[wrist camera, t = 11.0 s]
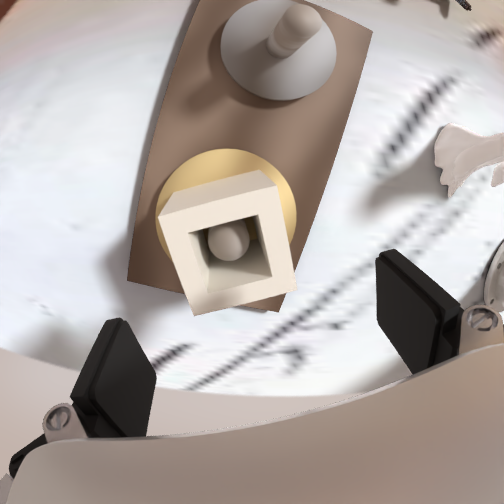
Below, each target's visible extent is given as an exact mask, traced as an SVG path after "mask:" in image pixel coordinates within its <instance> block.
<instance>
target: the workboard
mask: <svg viewBox="0 0 504 504" xmlns="http://www.w3.org/2000/svg"><path fill="white" fill-rule="evenodd" d="M372 33H373V31H371V30H369V29H367V28H366V27H364V26H362V25H360V24H358V23H356V22H354V21H351V20H349V19H347V18H345V17H343V16H341V15H339V14H336V13H334V12H332V11H329V10H327V9H325V8H322V7H320V6H317V5H315V4H312V3H310V2H307V1H304V0H200V1H199V4H198V6H197V8H196V11H195V13H194V15H193V18H192V20H191V23H190V25H189V28H188V30H187V33H186V35H185V38H184V41H183V43H182V46H181V49H180V51H179V54H178V57H177V60H176V63H175V66H174V69H173V72H172V75H171V78H170V81H169V84H168V87H167V90H166V93H165V97H164V100H163V103H162V107H161V110H160V114H159V117H158V121H157V125H156V128H155V132H154V136H153V140H152V144H151V148H150V152H149V156H148V161H147V165H146V169H145V174H144V179H143V183H142V188H141V193H140V199H139V204H138V209H137V215H136V221H135V227H134V233H133V239H132V246H131V253H130V261H129V268H128V277H127V281H131V282H135V283H139V284H143V285H148V286H152V287H156V288H160V289H165V290H169V291H174V292H178V293H183V294H185V292H184V289H183V287H182V284H181V281H180V279H179V276H178V273H177V271H176V268H175V265H174V262H173V260H172V257H171V254H170V251H169V248H168V246H167V243H166V240H165V237H164V234H163V231H162V228H161V225H160V222H159V219H158V216H159V214H160V213H161V211H162V209H163V208H164V206H165V205H166V203H167V202H168V200H169V198H170V197H171V195H172V194H173V192H177V191H180V190H183V189H187V188H190V187H194V186H198V185H201V184H205V183H209V182H212V181H216V180H220V179H224V178H228V177H231V176H235V175H239V174H243V173H248V172H252V171H256V170H260V171H262V172H263V173H264V174H265V175H266V176H267V177H268V178H269V179H271V180H272V181H273V182H274V183H275V184H276V185H277V188H278V192H279V197H280V202H281V207H282V212H283V217H284V222H285V227H286V232H287V237H288V242H289V247H290V253H291V258H292V263H293V269H294V272H295V269H296V267H297V264H298V261H299V259H300V256H301V253H302V251H303V248H304V245H305V243H306V240H307V237H308V235H309V232H310V229H311V226H312V224H313V221H314V218H315V215H316V212H317V210H318V207H319V204H320V201H321V198H322V195H323V193H324V190H325V187H326V184H327V181H328V178H329V175H330V172H331V169H332V166H333V163H334V160H335V157H336V154H337V151H338V148H339V145H340V142H341V139H342V136H343V132H344V129H345V126H346V123H347V120H348V117H349V113H350V110H351V107H352V103H353V100H354V97H355V94H356V90H357V87H358V83H359V80H360V76H361V73H362V69H363V66H364V62H365V59H366V55H367V52H368V48H369V44H370V40H371V37H372ZM203 233H204V236H205V239H206V243H207V246H208V249H209V251H211V252H212V253H213V254H214V255H215V256H216V257H217V258H219V259H221V260H224V261H234V260H237V259H239V258H241V257H242V256H243V255H244V254H245V253H246V251H247V250H248V247H249V243H250V240H254V239H258V238H257V234H256V229H255V225H254V221H253V217H252V216H250V217H246V218H242V219H238V220H234V221H230V222H227V223H223V224H219V225H215V226H211V227H208V228H204V229H203ZM285 295H286V293H284V294H280V295H277V296H273V297H269V298H265V299H261V300H258V301H254V302H250V303H246V304H242V305H241V306H247V307H252V308H257V309H263V310H268V311H274V312H279V310H280V308H281V305H282V303H283V300H284V298H285Z"/></svg>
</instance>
